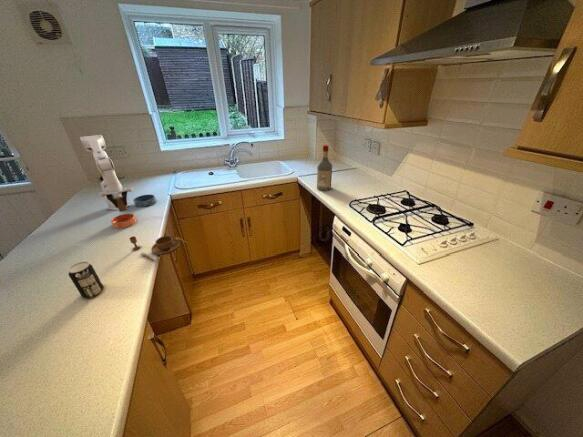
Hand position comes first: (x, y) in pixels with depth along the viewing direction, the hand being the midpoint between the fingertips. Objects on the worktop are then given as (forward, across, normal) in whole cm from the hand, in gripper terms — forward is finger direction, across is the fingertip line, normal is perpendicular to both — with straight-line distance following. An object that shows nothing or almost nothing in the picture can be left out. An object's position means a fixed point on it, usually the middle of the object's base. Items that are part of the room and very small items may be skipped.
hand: (121, 206), depth 130 cm
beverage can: (+10, -9, -56) cm, 58 cm away
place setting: (+10, +15, -37) cm, 41 cm away
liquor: (+10, +122, -20) cm, 124 cm away
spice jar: (+2, 0, 0) cm, 2 cm away
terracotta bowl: (+10, -1, -3) cm, 10 cm away
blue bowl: (+10, +9, +22) cm, 26 cm away
